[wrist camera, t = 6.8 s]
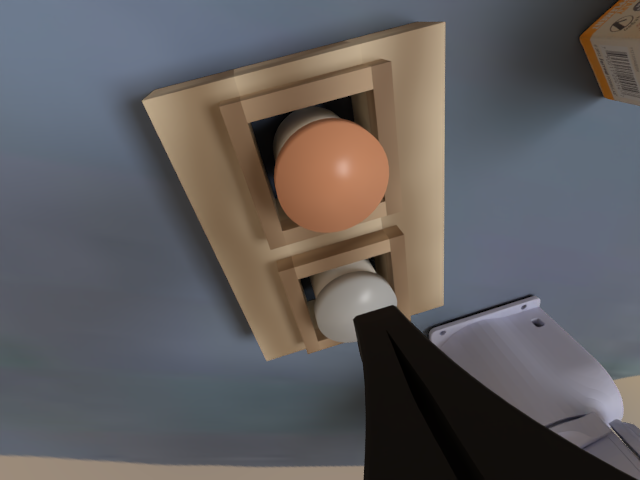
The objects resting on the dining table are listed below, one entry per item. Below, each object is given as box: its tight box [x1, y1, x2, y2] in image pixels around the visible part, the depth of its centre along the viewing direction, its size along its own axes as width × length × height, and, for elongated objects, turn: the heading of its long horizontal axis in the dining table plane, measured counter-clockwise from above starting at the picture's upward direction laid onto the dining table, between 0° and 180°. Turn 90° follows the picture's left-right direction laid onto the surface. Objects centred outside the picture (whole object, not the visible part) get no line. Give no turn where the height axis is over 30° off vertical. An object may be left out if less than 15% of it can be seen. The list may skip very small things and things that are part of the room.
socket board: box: [142, 22, 445, 361], centre depth 18 cm, size 12×16×4 cm
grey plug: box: [309, 259, 397, 343], centre depth 20 cm, size 4×4×4 cm
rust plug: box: [273, 106, 389, 233], centre depth 15 cm, size 4×4×4 cm
